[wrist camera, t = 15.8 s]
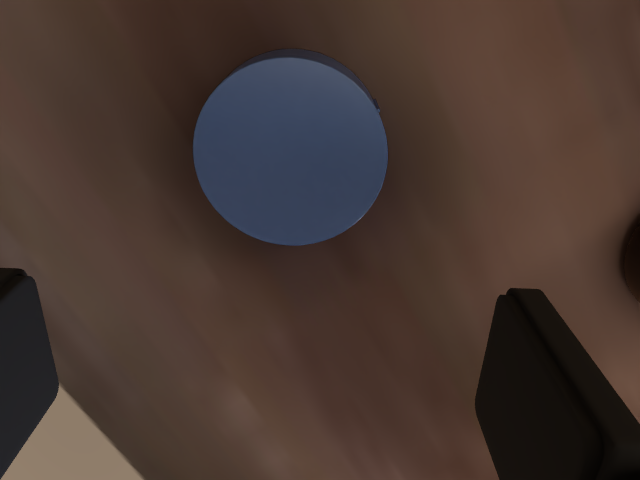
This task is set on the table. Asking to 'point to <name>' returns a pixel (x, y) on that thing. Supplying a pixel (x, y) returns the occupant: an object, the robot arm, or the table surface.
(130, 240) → the table surface
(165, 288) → the table surface
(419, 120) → the table surface
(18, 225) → the table surface
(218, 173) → the lid
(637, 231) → the supplement bottle
